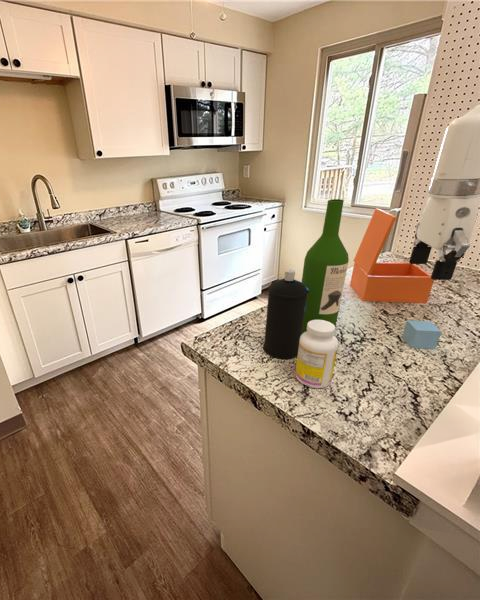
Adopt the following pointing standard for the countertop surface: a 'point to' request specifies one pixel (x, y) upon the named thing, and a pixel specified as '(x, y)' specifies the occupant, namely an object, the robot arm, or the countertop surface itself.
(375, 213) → the orange box lid
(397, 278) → the orange hinged box
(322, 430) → the countertop surface
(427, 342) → the light blue cube
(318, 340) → the supplement bottle
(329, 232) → the wine bottle
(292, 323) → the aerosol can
